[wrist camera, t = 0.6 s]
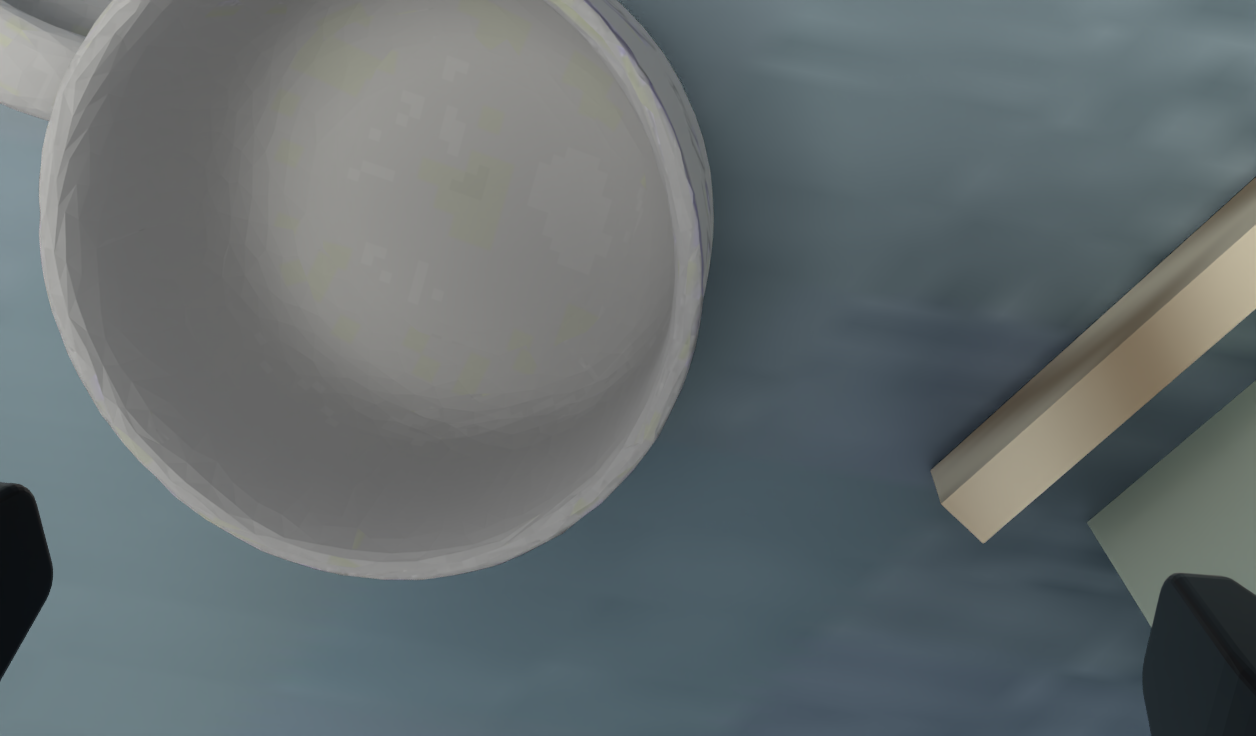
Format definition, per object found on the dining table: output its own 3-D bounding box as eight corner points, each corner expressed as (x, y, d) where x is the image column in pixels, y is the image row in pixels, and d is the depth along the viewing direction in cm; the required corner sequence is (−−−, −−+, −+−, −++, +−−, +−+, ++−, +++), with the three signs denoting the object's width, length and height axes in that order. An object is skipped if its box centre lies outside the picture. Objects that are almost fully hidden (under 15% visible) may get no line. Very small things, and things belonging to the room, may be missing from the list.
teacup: (839, 176, 24) (857, 231, 16) (522, 533, 27) (414, 719, 20) (315, -278, 23) (77, -442, 16) (50, 143, 26) (-256, 178, 19)
